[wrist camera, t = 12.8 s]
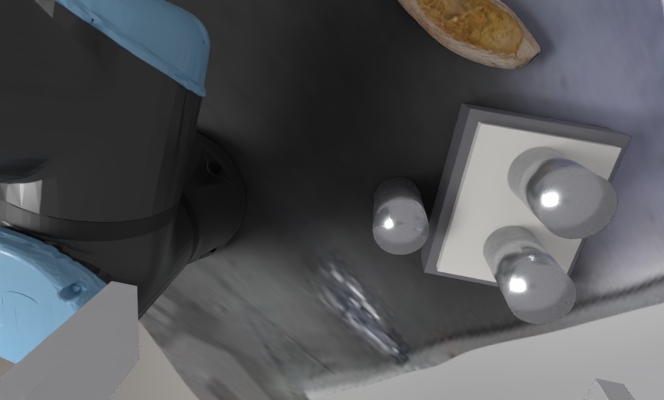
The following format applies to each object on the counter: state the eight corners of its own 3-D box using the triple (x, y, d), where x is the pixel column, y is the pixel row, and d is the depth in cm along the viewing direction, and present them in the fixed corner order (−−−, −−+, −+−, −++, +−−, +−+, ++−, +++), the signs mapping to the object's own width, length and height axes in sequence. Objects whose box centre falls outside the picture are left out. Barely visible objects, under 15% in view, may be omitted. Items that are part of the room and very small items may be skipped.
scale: (420, 254, 45) (425, 277, 40) (461, 102, 39) (472, 110, 34) (551, 278, 44) (571, 305, 40) (614, 129, 38) (647, 140, 33)
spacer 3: (476, 266, 39) (499, 317, 32) (491, 220, 37) (519, 263, 30) (527, 276, 39) (562, 329, 32) (545, 230, 37) (586, 276, 30)
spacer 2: (500, 194, 37) (531, 232, 29) (517, 142, 35) (555, 167, 27) (554, 205, 36) (600, 245, 29) (575, 152, 34) (630, 180, 27)
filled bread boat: (411, -51, 35) (415, -64, 31) (542, 35, 36) (563, 34, 32) (379, 7, 37) (379, 2, 33) (505, 87, 38) (520, 92, 34)
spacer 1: (369, 215, 44) (368, 249, 37) (378, 172, 42) (378, 199, 35) (414, 223, 44) (421, 259, 36) (425, 181, 42) (435, 209, 35)
